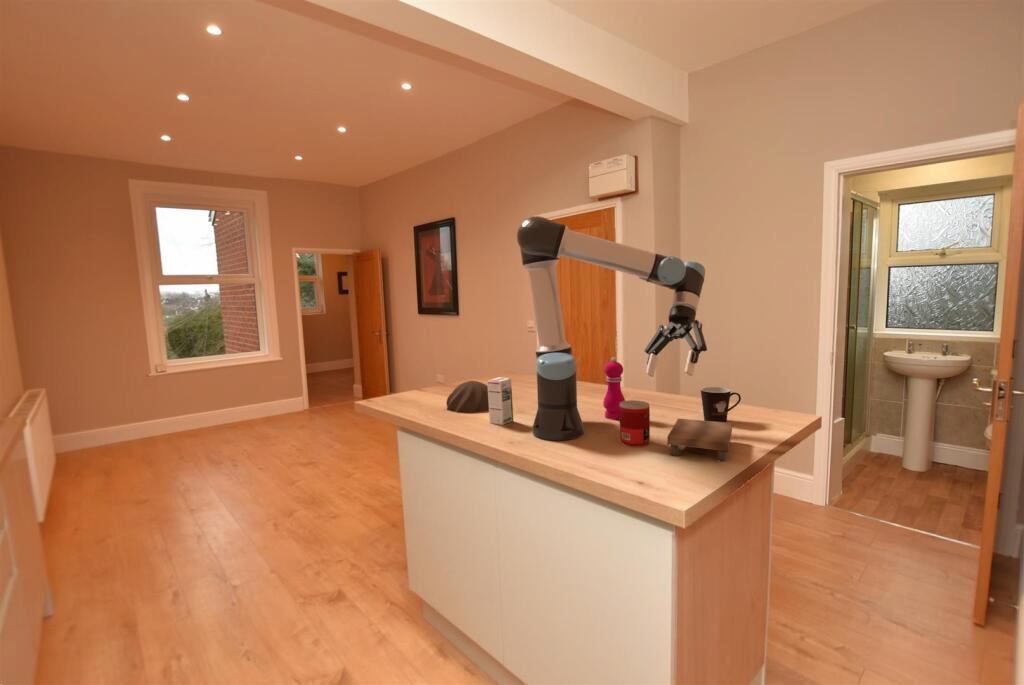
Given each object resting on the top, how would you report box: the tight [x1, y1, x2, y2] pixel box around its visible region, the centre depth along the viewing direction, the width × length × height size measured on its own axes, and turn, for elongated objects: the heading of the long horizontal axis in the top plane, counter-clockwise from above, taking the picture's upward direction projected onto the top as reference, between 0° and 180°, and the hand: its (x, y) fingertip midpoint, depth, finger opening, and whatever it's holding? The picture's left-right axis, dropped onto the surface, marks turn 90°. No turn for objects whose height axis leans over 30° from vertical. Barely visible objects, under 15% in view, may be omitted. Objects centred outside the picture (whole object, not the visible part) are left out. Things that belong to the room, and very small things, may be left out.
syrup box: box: [486, 376, 514, 426], centre depth 158 cm, size 6×6×14 cm
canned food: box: [619, 399, 651, 447], centre depth 133 cm, size 8×8×11 cm
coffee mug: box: [700, 386, 742, 423], centre depth 150 cm, size 12×9×10 cm
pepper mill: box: [602, 356, 626, 420], centre depth 159 cm, size 7×7×20 cm
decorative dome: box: [446, 380, 489, 414], centre depth 182 cm, size 19×20×10 cm
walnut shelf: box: [666, 418, 733, 462], centre depth 126 cm, size 14×18×5 cm
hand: (668, 374), depth 140 cm, fingers open, 13 cm apart
